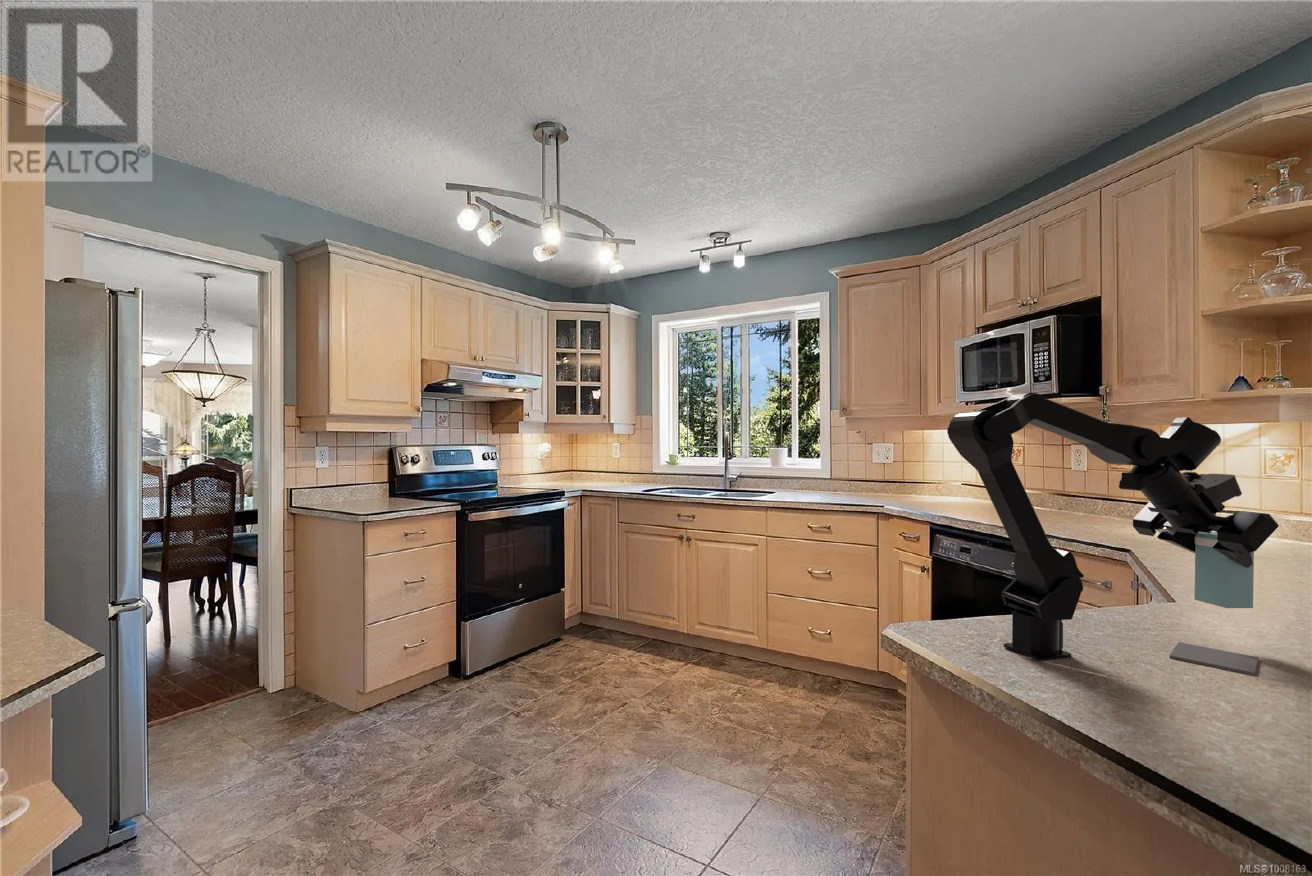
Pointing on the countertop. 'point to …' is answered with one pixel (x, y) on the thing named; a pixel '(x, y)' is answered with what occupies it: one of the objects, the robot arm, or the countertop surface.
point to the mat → (1215, 658)
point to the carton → (1221, 576)
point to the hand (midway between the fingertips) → (1231, 562)
